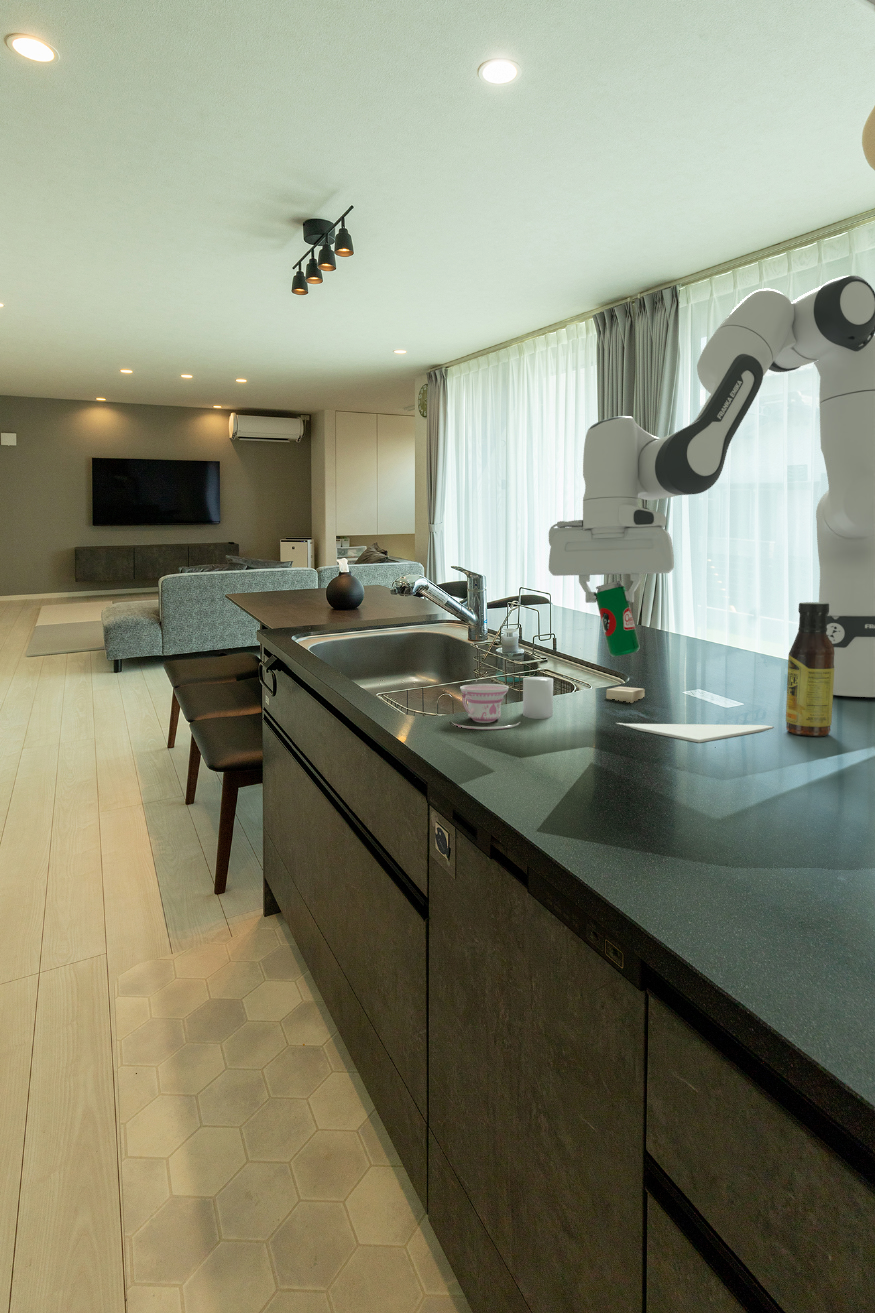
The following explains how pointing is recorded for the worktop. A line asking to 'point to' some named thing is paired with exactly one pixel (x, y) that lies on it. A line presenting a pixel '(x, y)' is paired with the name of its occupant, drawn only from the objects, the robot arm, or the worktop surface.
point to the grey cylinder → (538, 697)
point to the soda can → (617, 619)
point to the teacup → (484, 703)
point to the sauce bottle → (810, 674)
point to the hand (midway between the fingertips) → (609, 602)
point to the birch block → (625, 694)
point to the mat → (698, 730)
